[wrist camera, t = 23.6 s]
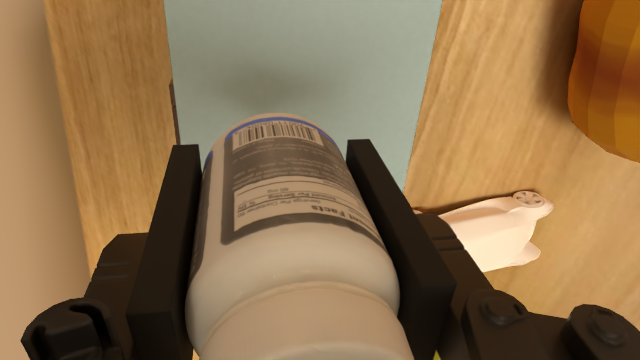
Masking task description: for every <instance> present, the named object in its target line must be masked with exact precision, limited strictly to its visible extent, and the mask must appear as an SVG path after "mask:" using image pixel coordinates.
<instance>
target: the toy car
mask: <svg viewBox="0 0 640 360" xmlns="http://www.w3.org/2000/svg"><path fill="white" fill-rule="evenodd" d="M526 203H527V204H526ZM528 204H529V205H528ZM553 209H554V204H553V203H552V202H551V201H549V200H547V199H545V198H543V197H542V196H541V195H539V194H537V192H529V191H520V192H517V193H515V194H514V195H513V198H512V197H501V198H494V199H488V200H484V201H481V202H477V203H474V204H471V205H468V206H465V207H462V208H459V209H456V210H453V211H450V212H447V213H444V214H441V215H438V216H439V217H440V218H441V219H443V220H444V221H445V222H447V223H448V224H449V225H450V227H451V228H452V230H453V231H454V233H455V234H456V235H457V239H459V240H460V241H461V243H462V244H463V245H464V249H465V250H467V251H468V253H469V254H470V255H471V257H472V258H473V260H474V261H475V263H476V264H477V265H478V267H479V268H480V270H481V271H482V273H483V272H487V271H491V270H495V269H499V268H503V267H507V266H513V265H524V264H526V263H528V262H529V261H532V260H534V259H536V258H538V257H539V256H540V253H541V252H540V250H539V249H538V248H537V247H536V246H535V245H534V244H532V243H531V242H528V241H529V240H530V238H531V236H532V234H533V231H534V228H535V224H536V221H537V220H538V219H540V218H542V217H544V216H545V215H547V214H549V213H550V212H551V211H552V210H553ZM413 211H414V213H415V214H422V212H420V211H417V210H413ZM517 222H518V223H517ZM470 238H471V239H470Z"/></svg>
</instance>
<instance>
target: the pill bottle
mask: <svg viewBox="0 0 640 360" xmlns="http://www.w3.org/2000/svg"><path fill="white" fill-rule="evenodd" d="M399 306H400V287H399V281H398V277H397V272H396V270H395V267H394V265H393V261H392V259H391V257H390V255H389V254H388V252H387V250H386V248H385V246H384V243H383V241H382V239H381V237H380V235H379V233H378V231H377V229H376V227H375V224H374V222H373V220H372V218H371V216H370V214H369V212H368V210H367V207H366V205H365V204H364V201H363V199H362V197H361V194H360V192H359V190H358V188H357V185H356V183H355V181H354V179H353V177H352V175H351V173H350V171H349V169H348V167H347V164H346V162H345V160H344V158H343V156H342V153H341V151H340V149H339V148H338V146H337V144H336V143H335V141H334V140H333V138H332V137H331V136H330V135H329V134H328V133H327V132H326V131H325V130H324V129H323V128H321V127H320V126H318V125H317V124H315V123H314V122H312V121H310V120H308V119H306V118H303V117H300V116H297V115H294V114H288V113H266V114H259V115H255V116H252V117H249V118H247V119H245V120H243V121H241V122H239V123H237V124H235V125H234V126H232V127H231V128H229V129H228V130H227V131H226V132H224V133H223V134H222V135H221V136H220V137H219V138H218V139H217V141H216V142H215V143H214V145H213V146H212V148H211V149H210V151H209V153H208V155H207V157H206V160H205V164H204V167H203V172H202V177H201V185H200V193H199V203H198V210H197V218H196V224H195V232H194V240H193V248H192V257H191V263H190V269H189V276H188V283H187V291H186V298H185V322H186V329H187V333H188V337H189V339H190V342H191V344H192V346H193V348H194V350H195V352H196V353H197V354H198V356H199V357H200V359H199V360H414V357H413V355H412V352H411V349H410V347H409V344H408V341H407V338H406V335H405V332H404V329H403V327H402V325H401V324H400V322H399V321H398V319H397V314H398V310H399Z"/></svg>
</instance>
